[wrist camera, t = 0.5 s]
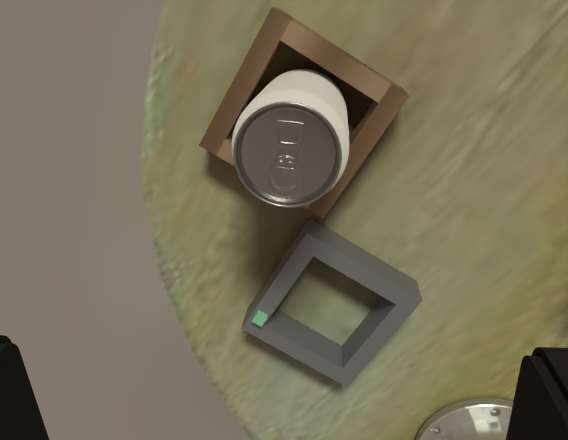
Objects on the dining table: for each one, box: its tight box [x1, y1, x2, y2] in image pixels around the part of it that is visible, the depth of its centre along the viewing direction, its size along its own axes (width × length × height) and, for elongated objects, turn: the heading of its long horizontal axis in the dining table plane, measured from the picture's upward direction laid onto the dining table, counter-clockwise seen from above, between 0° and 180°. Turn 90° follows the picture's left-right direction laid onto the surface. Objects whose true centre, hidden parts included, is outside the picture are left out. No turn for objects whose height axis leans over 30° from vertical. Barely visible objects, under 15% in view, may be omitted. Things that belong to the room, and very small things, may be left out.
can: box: [232, 69, 349, 208], centre depth 31 cm, size 6×6×12 cm
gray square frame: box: [241, 218, 422, 387], centre depth 40 cm, size 10×10×4 cm
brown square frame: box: [199, 8, 409, 219], centre depth 35 cm, size 10×10×3 cm
